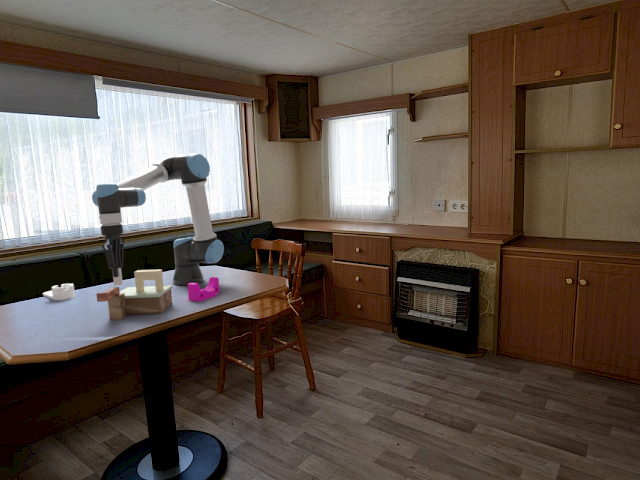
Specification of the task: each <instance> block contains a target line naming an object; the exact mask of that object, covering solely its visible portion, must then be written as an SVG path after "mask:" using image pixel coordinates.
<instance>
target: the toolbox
mask: <svg viewBox="0 0 640 480" xmlns="http://www.w3.org/2000/svg"><path fill="white" fill-rule="evenodd" d="M107 305H108V315H109V321H115V320H117V321H118V320H123V319H124V318H126V317H127V316H135V315H136V316H137V315H139V316H140V315H161V314H162V313H163V312H164V311H166V310H167V309H169V308H170V307H171V306H172V305H173V299H172V288H171V289H170V290H169V291H167V292H166V293H164V294H163V295H161V296H160V297H146V298H125V295H124V293H120V294H118V295H116V296H114V297H112V298H111V299H109V300H108V301H107Z"/></svg>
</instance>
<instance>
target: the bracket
mask: <svg viewBox="0 0 640 480" xmlns="http://www.w3.org/2000/svg"><path fill="white" fill-rule="evenodd" d="M42 296H44V297H45V298H49V299H51V300H53V301H65V300H69V299H73V298H75V296H76V294H75V285H74V283H62V284H60V287H59V285H53V286H51V290H48V291H45V292H43V293H42Z"/></svg>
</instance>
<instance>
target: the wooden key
mask: <svg viewBox="0 0 640 480" xmlns="http://www.w3.org/2000/svg"><path fill="white" fill-rule="evenodd" d="M120 291H121V290H120V287H116V286H115V287H111V288H109V289H107V290H105V291H103V292H97V293H96V302H99V303H100V302H101V303H102V302H108V300H109V299H111V298H112V297H114V296H116V295H118V294H120Z"/></svg>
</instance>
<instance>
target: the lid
mask: <svg viewBox="0 0 640 480" xmlns="http://www.w3.org/2000/svg"><path fill="white" fill-rule="evenodd" d="M133 273H134V280H135V281H134V282H135V286H127V287H125V288H124V289H122V290H119V291H120V293H124V295H125V298H146V297H160V296H161V295H163V294H164V293H166V292H167V291H169V290H170V289H171V290H172V289H173V285H164V279H163V278H164V277H163V276H164V275H163V269H137V270H136V271H134V272H133ZM153 280H154V283H155V284H154V285H153V286H151V285H150V286H145V283H144V281H153Z"/></svg>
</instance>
